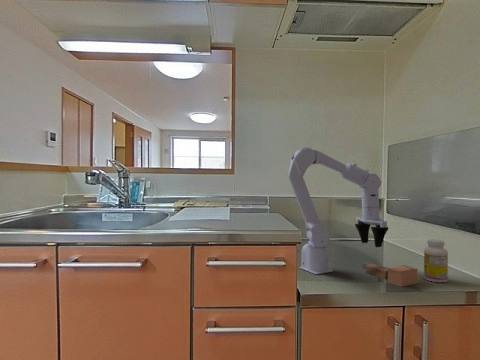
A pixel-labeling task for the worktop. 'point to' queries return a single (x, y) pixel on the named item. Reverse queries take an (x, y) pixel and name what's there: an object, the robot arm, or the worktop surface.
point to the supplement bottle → (436, 261)
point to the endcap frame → (400, 275)
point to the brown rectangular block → (377, 271)
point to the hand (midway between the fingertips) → (371, 244)
